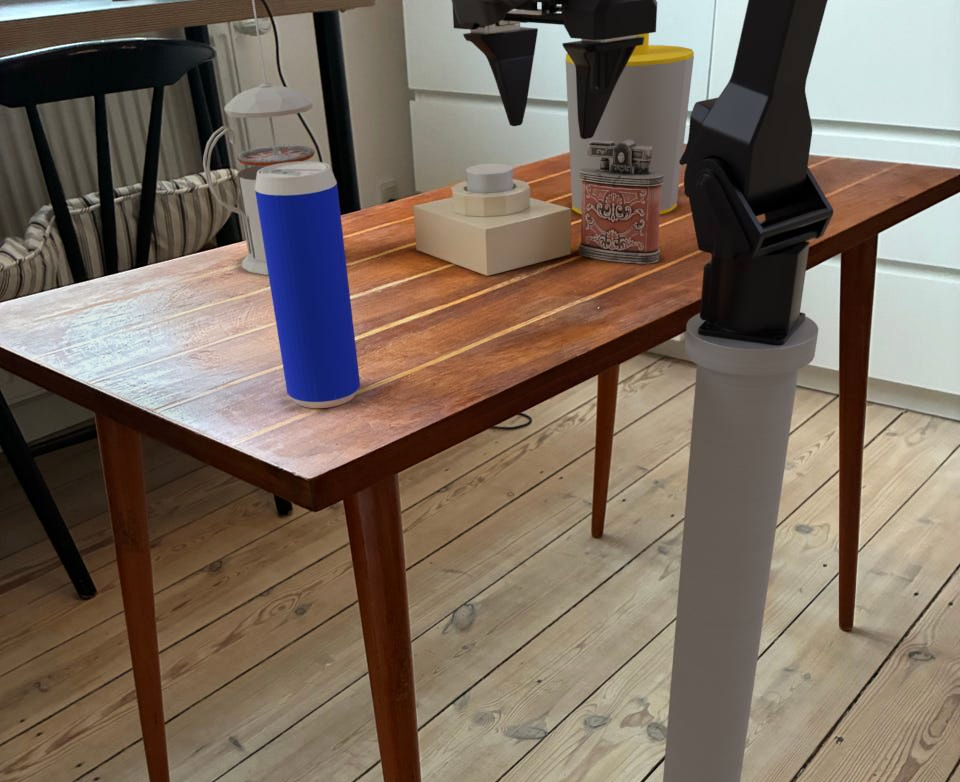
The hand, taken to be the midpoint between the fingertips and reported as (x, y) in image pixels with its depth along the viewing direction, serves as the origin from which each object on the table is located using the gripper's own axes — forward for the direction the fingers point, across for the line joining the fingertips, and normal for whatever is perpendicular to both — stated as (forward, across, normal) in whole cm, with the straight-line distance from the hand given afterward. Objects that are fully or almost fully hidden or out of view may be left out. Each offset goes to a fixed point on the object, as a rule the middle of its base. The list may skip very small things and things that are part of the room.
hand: (550, 131), depth 86 cm
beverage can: (+12, +10, -29) cm, 33 cm away
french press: (+12, -23, -15) cm, 30 cm away
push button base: (+12, -11, +2) cm, 16 cm away
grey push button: (+7, -11, +2) cm, 13 cm away
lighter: (+12, -1, +9) cm, 16 cm away
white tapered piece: (+12, -15, +23) cm, 30 cm away
